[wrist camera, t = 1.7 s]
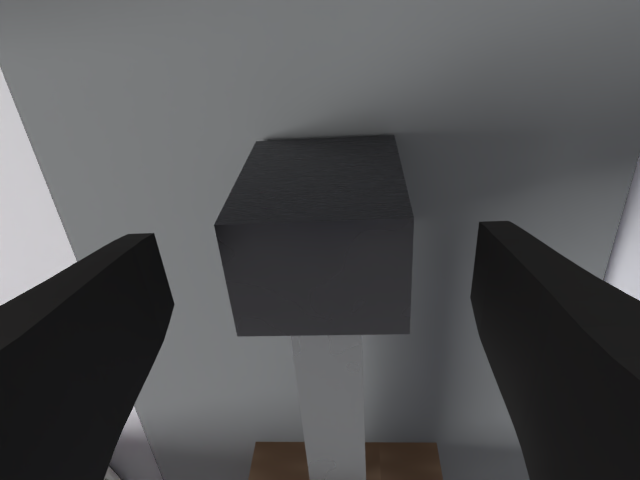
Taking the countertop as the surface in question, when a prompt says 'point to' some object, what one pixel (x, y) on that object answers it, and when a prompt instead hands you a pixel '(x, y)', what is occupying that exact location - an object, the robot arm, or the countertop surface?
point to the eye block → (381, 458)
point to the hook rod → (321, 273)
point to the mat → (328, 122)
